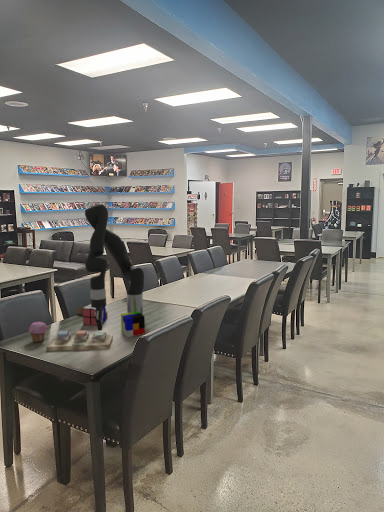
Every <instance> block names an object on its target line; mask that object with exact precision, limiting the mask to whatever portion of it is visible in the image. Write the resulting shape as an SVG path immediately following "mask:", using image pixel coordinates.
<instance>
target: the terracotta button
mask: <svg viewBox="0 0 384 512" xmlns="http://www.w3.org/2000/svg"><path fill="white" fill-rule="evenodd" d="M87 332H88V331H87V329H85V330H77V331H76V333H75V334H76V337H81V336H86V334H87Z"/></svg>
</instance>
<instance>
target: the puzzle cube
mask: <svg viewBox="0 0 384 512" xmlns="http://www.w3.org/2000/svg"><path fill="white" fill-rule="evenodd" d="M85 306H86V307H84V306H83V307H84V308H83V314H82V324H83V326H84V325H85V326H97V324H96V320H95V309H96V308H93V307H91V303H90V304H88V305H85ZM105 308H106V306H105V307H102V309H104V312H103V320H102V321H103V322H102V324H103V323H104V322H106V320H107V319H106V313H105V312H106V311H107V309H106V310H105Z"/></svg>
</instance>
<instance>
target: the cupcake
mask: <svg viewBox="0 0 384 512" xmlns="http://www.w3.org/2000/svg"><path fill="white" fill-rule="evenodd" d="M47 330H48V326H47V324H46V323H45V322H42V321H35V322H32V323H31V325H30V326H29V327H28V332H29V334H30V335H31V336H30V337H31V341H32V342H33V343H40V342H43V340H45V335H46V331H47Z"/></svg>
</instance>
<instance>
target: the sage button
mask: <svg viewBox="0 0 384 512" xmlns="http://www.w3.org/2000/svg"><path fill="white" fill-rule="evenodd" d="M95 332H96V331H95ZM104 332H105V331H97V332H96V333H95V335H94V336H104Z"/></svg>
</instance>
